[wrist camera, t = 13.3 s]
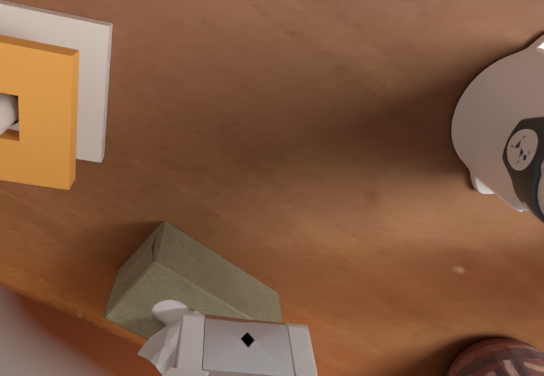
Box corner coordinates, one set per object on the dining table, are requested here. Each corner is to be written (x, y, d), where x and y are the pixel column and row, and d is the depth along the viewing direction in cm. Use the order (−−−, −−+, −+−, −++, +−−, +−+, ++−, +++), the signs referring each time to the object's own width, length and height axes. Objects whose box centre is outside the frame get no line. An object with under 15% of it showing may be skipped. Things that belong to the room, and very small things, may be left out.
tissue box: (115, 269, 59) (79, 376, 45) (162, 217, 55) (139, 314, 42) (233, 336, 66) (234, 446, 52) (280, 293, 62) (295, 398, 49)
